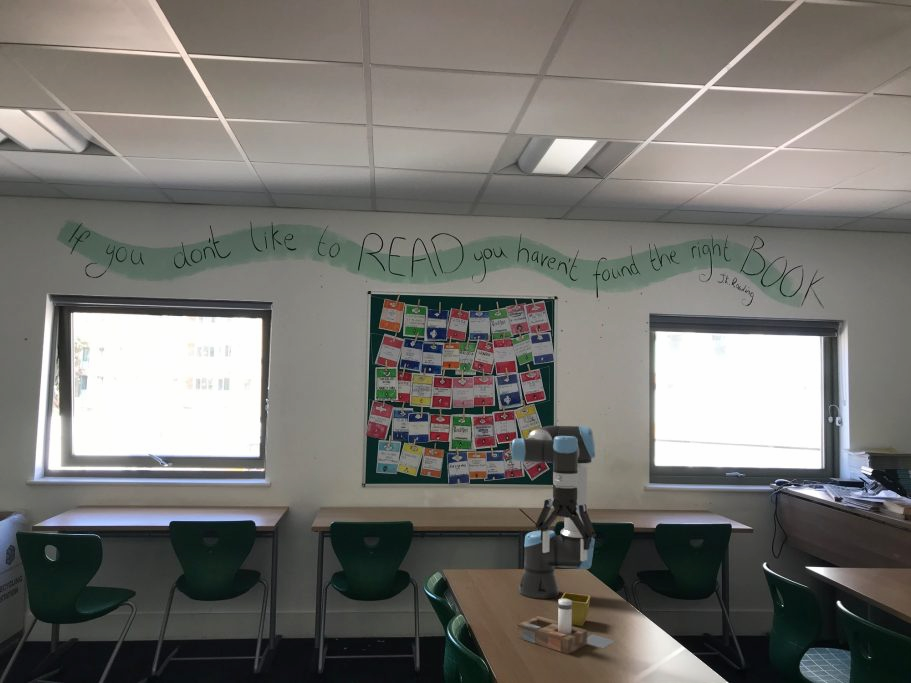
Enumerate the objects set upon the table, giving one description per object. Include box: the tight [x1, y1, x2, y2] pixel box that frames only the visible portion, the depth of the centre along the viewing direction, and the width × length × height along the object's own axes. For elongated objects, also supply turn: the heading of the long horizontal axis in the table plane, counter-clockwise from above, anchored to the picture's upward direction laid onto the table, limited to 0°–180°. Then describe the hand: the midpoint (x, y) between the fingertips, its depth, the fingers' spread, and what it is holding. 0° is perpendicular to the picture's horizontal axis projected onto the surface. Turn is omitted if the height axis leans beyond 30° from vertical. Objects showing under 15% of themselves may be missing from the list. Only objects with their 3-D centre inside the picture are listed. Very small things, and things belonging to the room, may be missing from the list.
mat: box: [587, 634, 616, 649], centre depth 200 cm, size 8×8×1 cm
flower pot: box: [560, 592, 591, 627], centre depth 218 cm, size 9×9×9 cm
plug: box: [557, 598, 573, 636], centre depth 197 cm, size 4×4×14 cm
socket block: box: [517, 615, 588, 655], centre depth 200 cm, size 11×18×5 cm, turn 48°
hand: (564, 556), depth 201 cm, fingers open, 13 cm apart
